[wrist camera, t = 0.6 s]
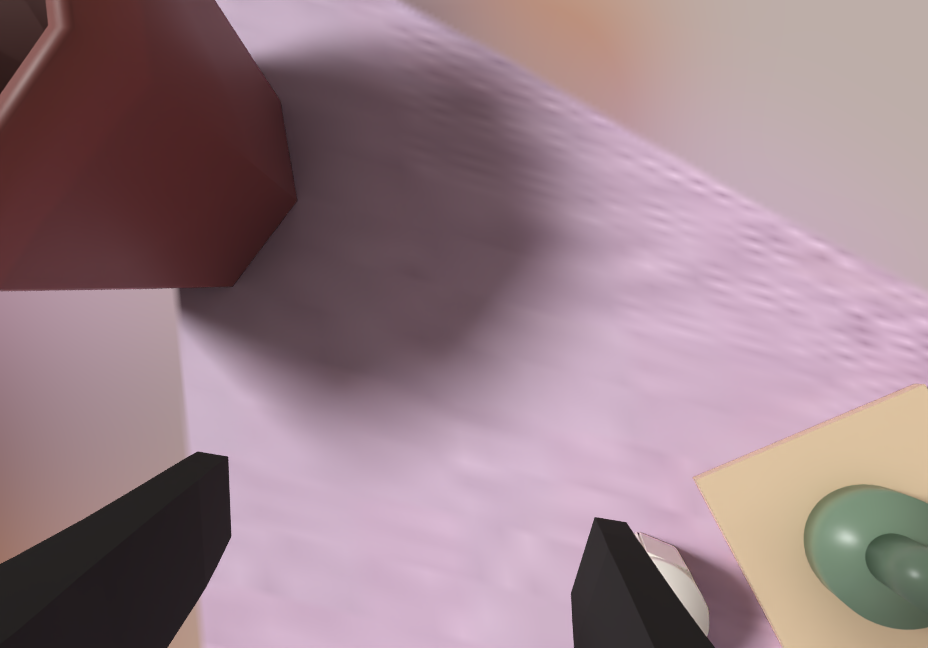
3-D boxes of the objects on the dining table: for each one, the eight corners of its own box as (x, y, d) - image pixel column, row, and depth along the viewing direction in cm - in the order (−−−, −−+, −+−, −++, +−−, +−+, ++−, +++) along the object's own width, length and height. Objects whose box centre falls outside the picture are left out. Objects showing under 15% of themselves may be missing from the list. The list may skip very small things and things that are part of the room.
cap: (708, 611, 28) (729, 649, 24) (621, 643, 28) (628, 686, 25) (663, 521, 29) (676, 544, 25) (579, 555, 29) (580, 583, 25)
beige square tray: (1060, 615, 24) (1204, 687, 19) (810, 700, 26) (873, 789, 21) (914, 384, 27) (1004, 386, 21) (692, 477, 28) (720, 503, 23)
